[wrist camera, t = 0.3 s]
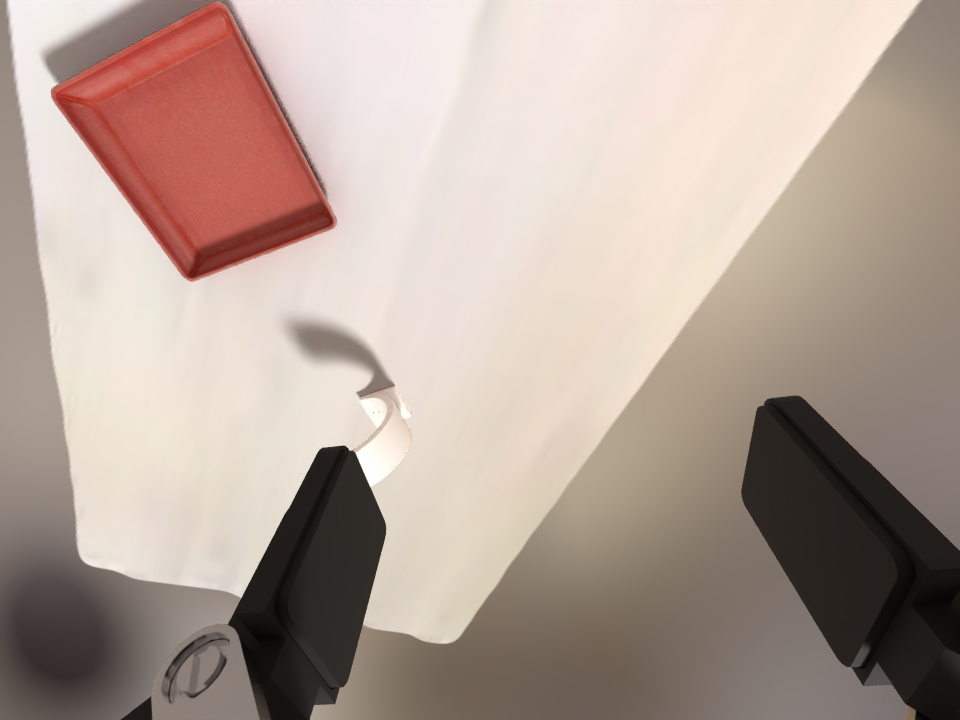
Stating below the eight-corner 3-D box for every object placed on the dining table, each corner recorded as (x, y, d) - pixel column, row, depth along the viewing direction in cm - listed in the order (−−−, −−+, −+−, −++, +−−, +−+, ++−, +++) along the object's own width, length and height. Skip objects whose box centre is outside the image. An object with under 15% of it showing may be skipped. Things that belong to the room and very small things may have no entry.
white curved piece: (360, 396, 55) (328, 465, 44) (402, 382, 53) (379, 450, 43) (378, 423, 57) (351, 494, 47) (419, 410, 56) (400, 481, 45)
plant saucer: (349, 218, 44) (339, 226, 41) (205, 274, 47) (186, 285, 45) (243, 3, 35) (221, -5, 32) (77, 91, 39) (44, 90, 36)
